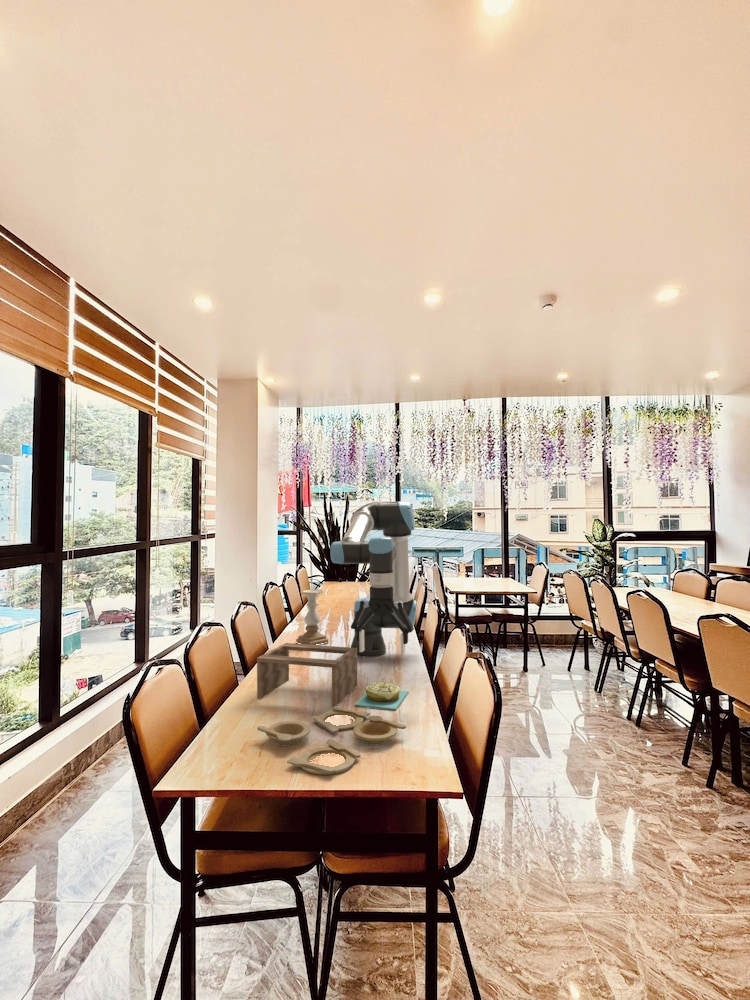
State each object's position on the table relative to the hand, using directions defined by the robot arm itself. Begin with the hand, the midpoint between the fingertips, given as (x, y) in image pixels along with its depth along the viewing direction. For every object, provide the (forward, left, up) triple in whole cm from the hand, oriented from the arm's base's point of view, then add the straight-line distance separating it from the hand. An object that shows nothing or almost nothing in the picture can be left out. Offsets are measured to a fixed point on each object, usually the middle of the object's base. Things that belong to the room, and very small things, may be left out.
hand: (382, 652), depth 166 cm
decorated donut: (0, 0, -14) cm, 14 cm away
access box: (0, -25, -15) cm, 29 cm away
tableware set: (+32, -4, -15) cm, 36 cm away
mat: (0, 0, -15) cm, 15 cm away
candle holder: (-62, -52, -15) cm, 82 cm away
